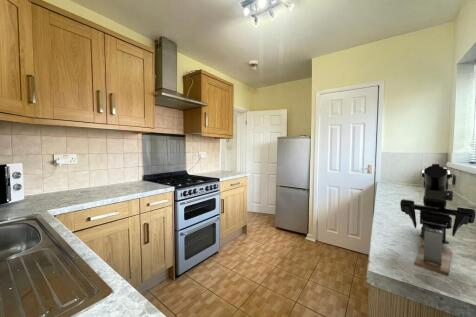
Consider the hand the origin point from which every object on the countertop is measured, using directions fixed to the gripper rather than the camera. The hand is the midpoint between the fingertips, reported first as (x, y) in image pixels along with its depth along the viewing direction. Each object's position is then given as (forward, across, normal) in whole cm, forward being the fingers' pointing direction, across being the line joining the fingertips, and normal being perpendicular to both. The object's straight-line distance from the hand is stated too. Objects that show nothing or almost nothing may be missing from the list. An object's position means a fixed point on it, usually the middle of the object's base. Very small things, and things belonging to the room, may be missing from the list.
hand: (433, 231), depth 67 cm
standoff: (+10, 0, +2) cm, 10 cm away
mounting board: (+7, 0, +6) cm, 9 cm away
